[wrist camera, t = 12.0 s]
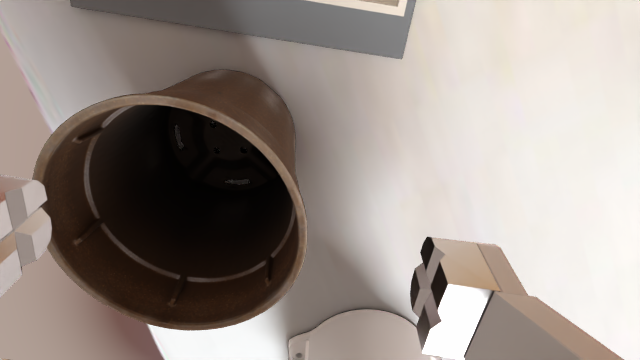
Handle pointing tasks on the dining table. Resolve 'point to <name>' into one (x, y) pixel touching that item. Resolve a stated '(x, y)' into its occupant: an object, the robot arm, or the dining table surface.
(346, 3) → the cream tray
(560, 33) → the dining table surface
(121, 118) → the plant pot
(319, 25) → the slate mat
